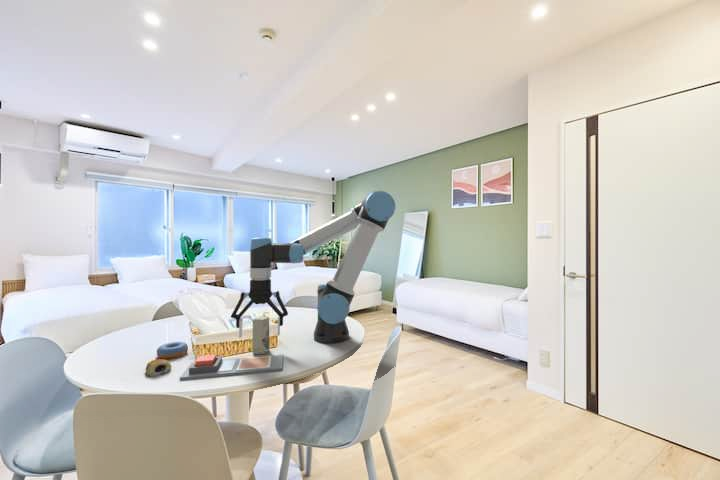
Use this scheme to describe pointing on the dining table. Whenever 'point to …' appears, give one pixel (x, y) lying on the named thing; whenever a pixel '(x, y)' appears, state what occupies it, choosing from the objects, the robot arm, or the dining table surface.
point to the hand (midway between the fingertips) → (259, 335)
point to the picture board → (234, 367)
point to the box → (260, 335)
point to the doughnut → (172, 350)
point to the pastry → (158, 367)
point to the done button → (206, 360)
